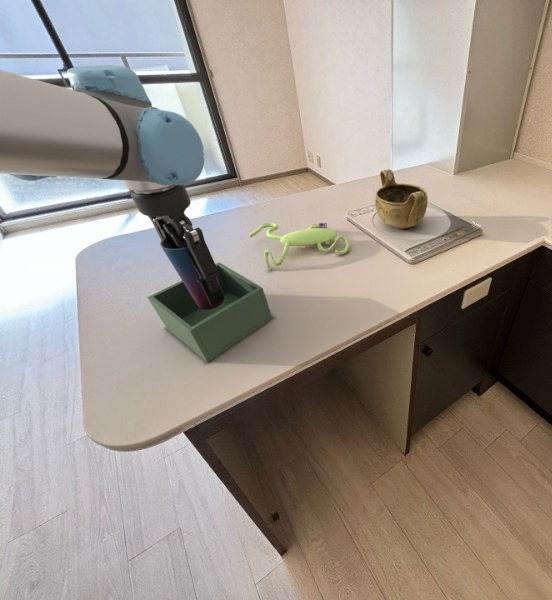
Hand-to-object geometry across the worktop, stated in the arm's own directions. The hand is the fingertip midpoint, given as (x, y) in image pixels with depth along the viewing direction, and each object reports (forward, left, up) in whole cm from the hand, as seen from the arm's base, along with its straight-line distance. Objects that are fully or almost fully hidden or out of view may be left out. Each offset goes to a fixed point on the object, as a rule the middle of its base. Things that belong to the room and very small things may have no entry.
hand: (207, 295), depth 67 cm
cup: (0, 0, -2) cm, 2 cm away
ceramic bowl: (+63, -5, -8) cm, 64 cm away
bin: (0, 0, -8) cm, 8 cm away
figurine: (+32, +10, -8) cm, 34 cm away
